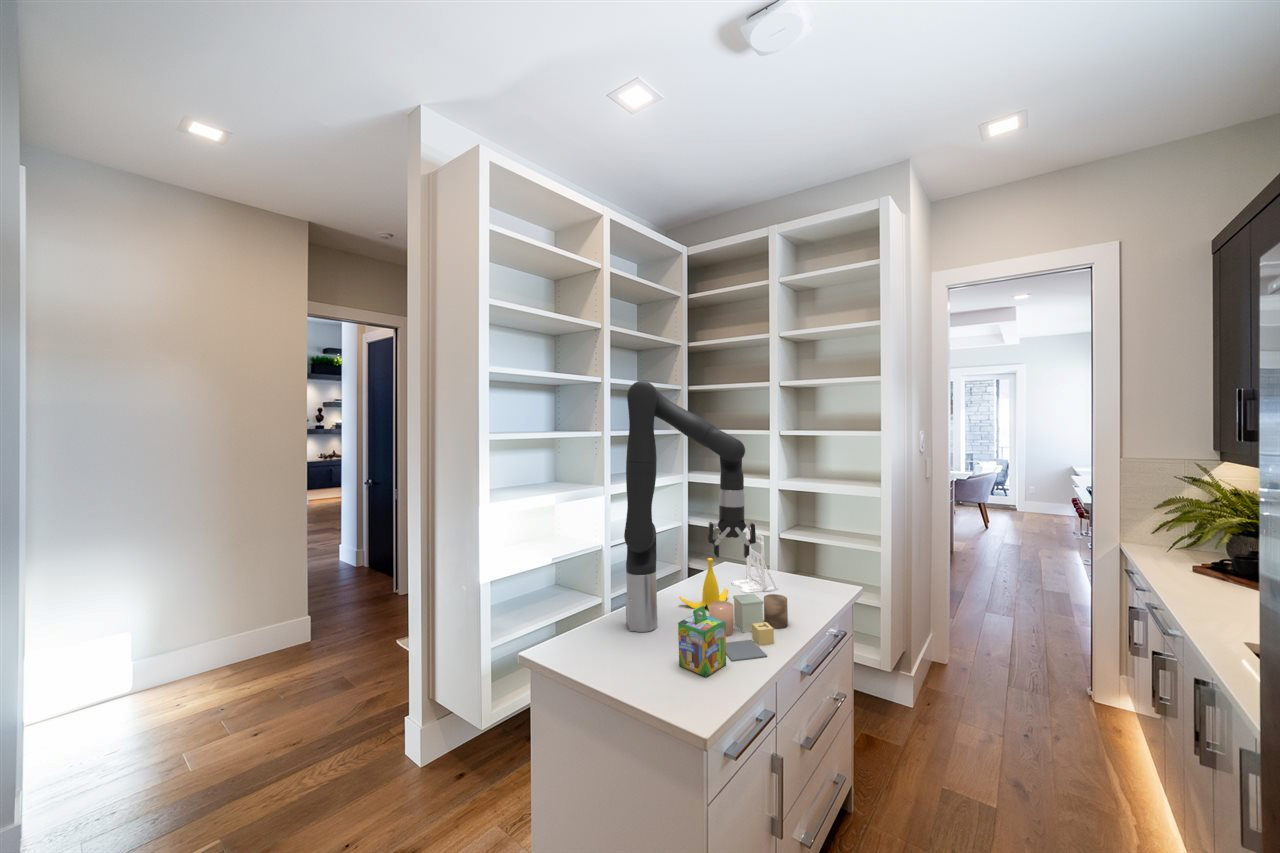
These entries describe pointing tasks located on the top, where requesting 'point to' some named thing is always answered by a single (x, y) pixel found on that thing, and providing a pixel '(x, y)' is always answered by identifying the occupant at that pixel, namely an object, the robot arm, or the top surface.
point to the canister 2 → (776, 611)
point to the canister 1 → (723, 614)
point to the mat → (743, 650)
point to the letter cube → (763, 633)
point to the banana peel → (708, 590)
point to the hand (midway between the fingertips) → (731, 556)
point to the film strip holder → (750, 561)
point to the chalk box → (702, 643)
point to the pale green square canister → (747, 611)
